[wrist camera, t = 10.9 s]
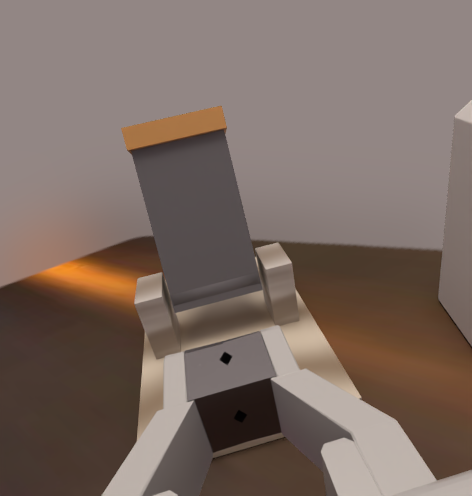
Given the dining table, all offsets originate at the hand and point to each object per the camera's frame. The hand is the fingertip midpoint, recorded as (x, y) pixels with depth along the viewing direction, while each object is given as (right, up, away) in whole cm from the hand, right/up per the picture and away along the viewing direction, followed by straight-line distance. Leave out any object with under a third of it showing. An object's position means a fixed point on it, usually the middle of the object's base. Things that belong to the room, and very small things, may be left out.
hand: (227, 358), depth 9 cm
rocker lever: (-1, 0, +19) cm, 19 cm away
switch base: (0, -5, +22) cm, 22 cm away
